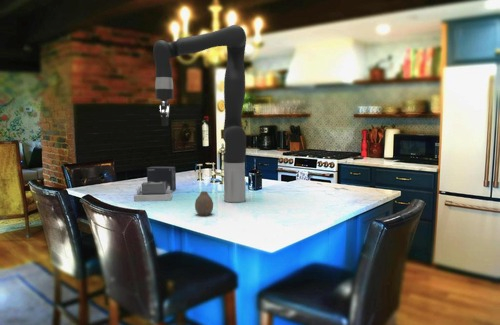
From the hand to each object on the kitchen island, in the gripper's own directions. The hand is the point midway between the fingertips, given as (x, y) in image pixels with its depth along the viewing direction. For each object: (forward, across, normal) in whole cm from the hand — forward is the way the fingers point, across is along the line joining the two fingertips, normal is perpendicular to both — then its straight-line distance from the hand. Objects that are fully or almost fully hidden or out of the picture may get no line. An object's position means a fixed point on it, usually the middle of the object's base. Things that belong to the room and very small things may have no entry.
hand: (165, 125), depth 176 cm
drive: (+32, +4, +6) cm, 33 cm away
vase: (+33, -30, -16) cm, 48 cm away
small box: (+33, +24, +4) cm, 41 cm away
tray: (+33, +4, +6) cm, 34 cm away
